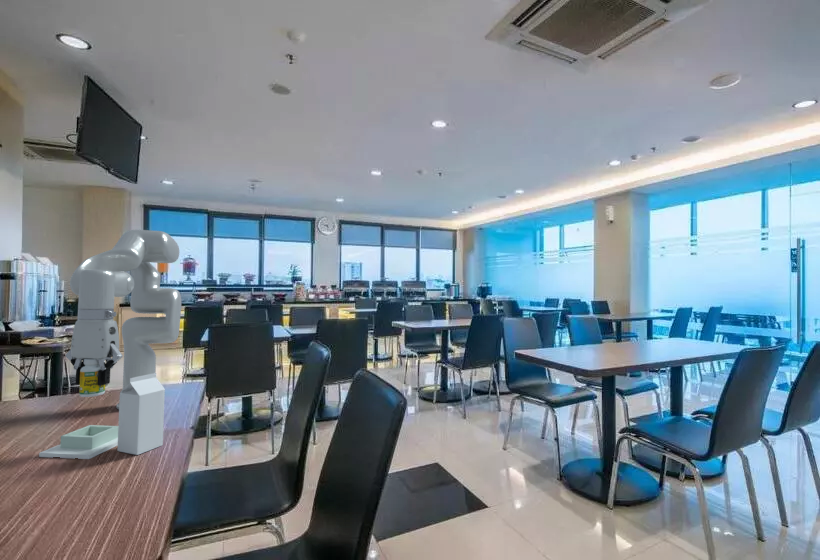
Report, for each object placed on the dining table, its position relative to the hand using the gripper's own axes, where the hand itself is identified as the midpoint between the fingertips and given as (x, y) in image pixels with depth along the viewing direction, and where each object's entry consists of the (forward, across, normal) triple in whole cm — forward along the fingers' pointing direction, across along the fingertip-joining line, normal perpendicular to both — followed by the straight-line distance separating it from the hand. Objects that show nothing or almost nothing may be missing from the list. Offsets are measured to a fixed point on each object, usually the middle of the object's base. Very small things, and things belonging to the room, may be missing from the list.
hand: (92, 383), depth 105 cm
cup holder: (+16, 0, 0) cm, 16 cm away
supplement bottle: (+3, 0, 0) cm, 3 cm away
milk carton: (+17, -14, 0) cm, 22 cm away
